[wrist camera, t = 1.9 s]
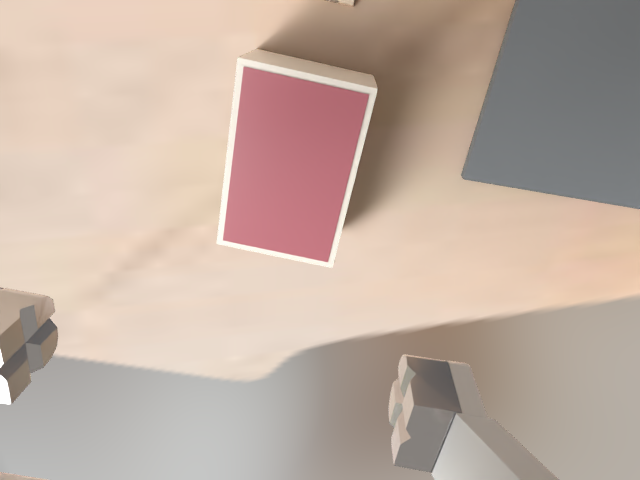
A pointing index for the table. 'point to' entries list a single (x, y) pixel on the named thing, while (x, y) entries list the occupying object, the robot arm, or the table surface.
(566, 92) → the mat
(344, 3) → the newspaper
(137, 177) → the table surface
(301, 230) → the card box
